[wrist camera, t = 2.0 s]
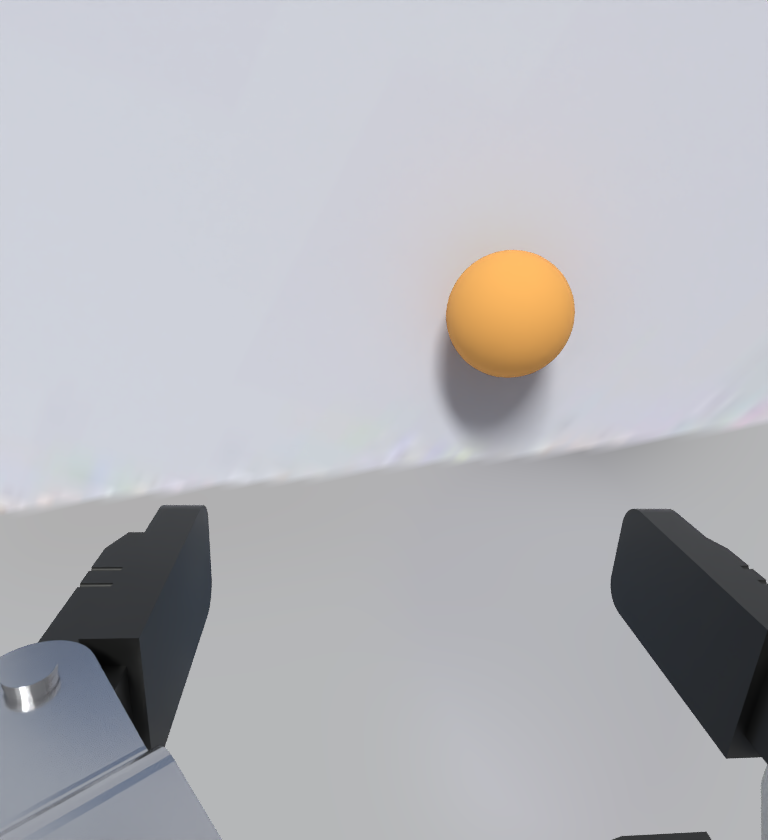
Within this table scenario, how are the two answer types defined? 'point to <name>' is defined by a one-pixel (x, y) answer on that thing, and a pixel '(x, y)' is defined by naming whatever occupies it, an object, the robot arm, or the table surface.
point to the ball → (510, 313)
